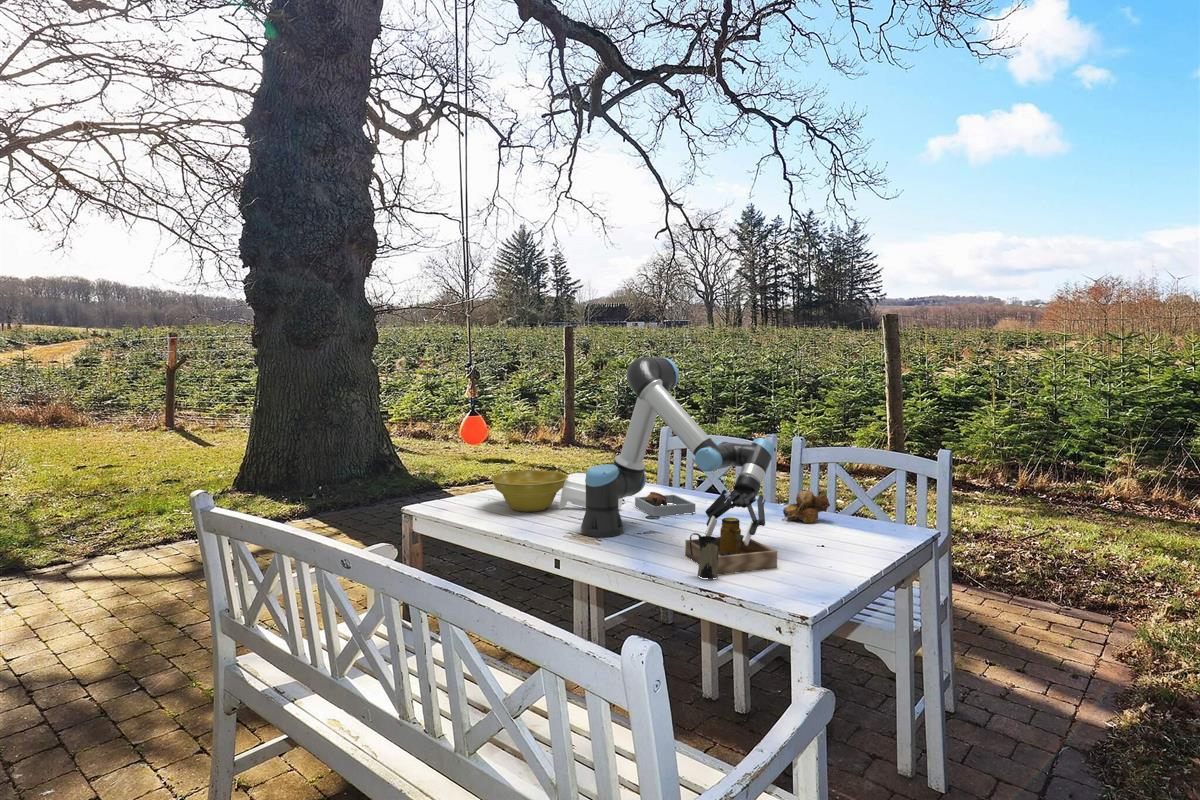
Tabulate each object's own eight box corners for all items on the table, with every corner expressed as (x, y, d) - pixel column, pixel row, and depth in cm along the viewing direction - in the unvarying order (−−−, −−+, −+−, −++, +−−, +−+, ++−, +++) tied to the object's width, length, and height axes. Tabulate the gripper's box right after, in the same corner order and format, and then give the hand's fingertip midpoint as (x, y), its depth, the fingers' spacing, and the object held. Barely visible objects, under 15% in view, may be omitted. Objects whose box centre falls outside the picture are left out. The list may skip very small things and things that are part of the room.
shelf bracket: (560, 507, 282) (566, 478, 281) (618, 521, 279) (624, 491, 278) (557, 510, 276) (563, 480, 275) (617, 524, 273) (623, 494, 272)
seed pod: (833, 509, 244) (828, 489, 258) (788, 499, 246) (786, 480, 260) (822, 539, 249) (818, 518, 263) (779, 529, 251) (777, 508, 265)
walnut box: (715, 575, 191) (715, 557, 191) (685, 556, 210) (685, 540, 210) (777, 568, 197) (777, 551, 197) (742, 550, 216) (742, 534, 216)
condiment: (732, 553, 209) (732, 515, 208) (750, 561, 201) (750, 521, 201) (713, 557, 205) (713, 518, 205) (730, 564, 198) (731, 524, 197)
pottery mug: (638, 509, 280) (645, 491, 282) (658, 518, 281) (664, 500, 284) (647, 507, 268) (655, 488, 271) (668, 517, 270) (675, 498, 272)
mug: (720, 575, 191) (720, 533, 190) (715, 581, 186) (715, 538, 185) (693, 572, 194) (693, 530, 194) (687, 577, 189) (687, 535, 188)
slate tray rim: (653, 517, 263) (653, 507, 263) (635, 506, 282) (635, 497, 282) (695, 513, 268) (695, 503, 268) (674, 503, 287) (674, 494, 287)
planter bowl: (537, 520, 258) (537, 486, 257) (474, 511, 275) (473, 479, 274) (583, 505, 286) (583, 473, 285) (523, 497, 302) (522, 468, 302)
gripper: (789, 492, 207) (767, 553, 196) (719, 484, 222) (695, 539, 211) (782, 478, 203) (759, 539, 192) (711, 470, 218) (686, 526, 207)
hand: (725, 539), depth 201 cm, fingers open, 12 cm apart
